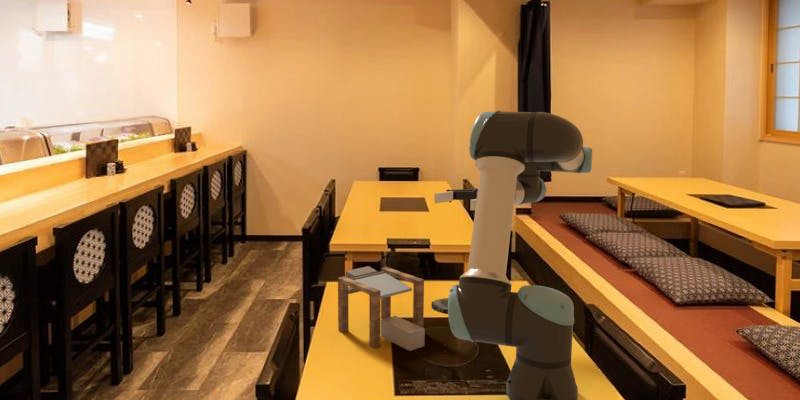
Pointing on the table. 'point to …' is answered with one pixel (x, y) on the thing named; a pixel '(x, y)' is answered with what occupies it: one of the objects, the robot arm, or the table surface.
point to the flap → (378, 281)
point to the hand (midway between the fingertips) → (452, 201)
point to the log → (440, 305)
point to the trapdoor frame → (378, 303)
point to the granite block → (402, 333)
